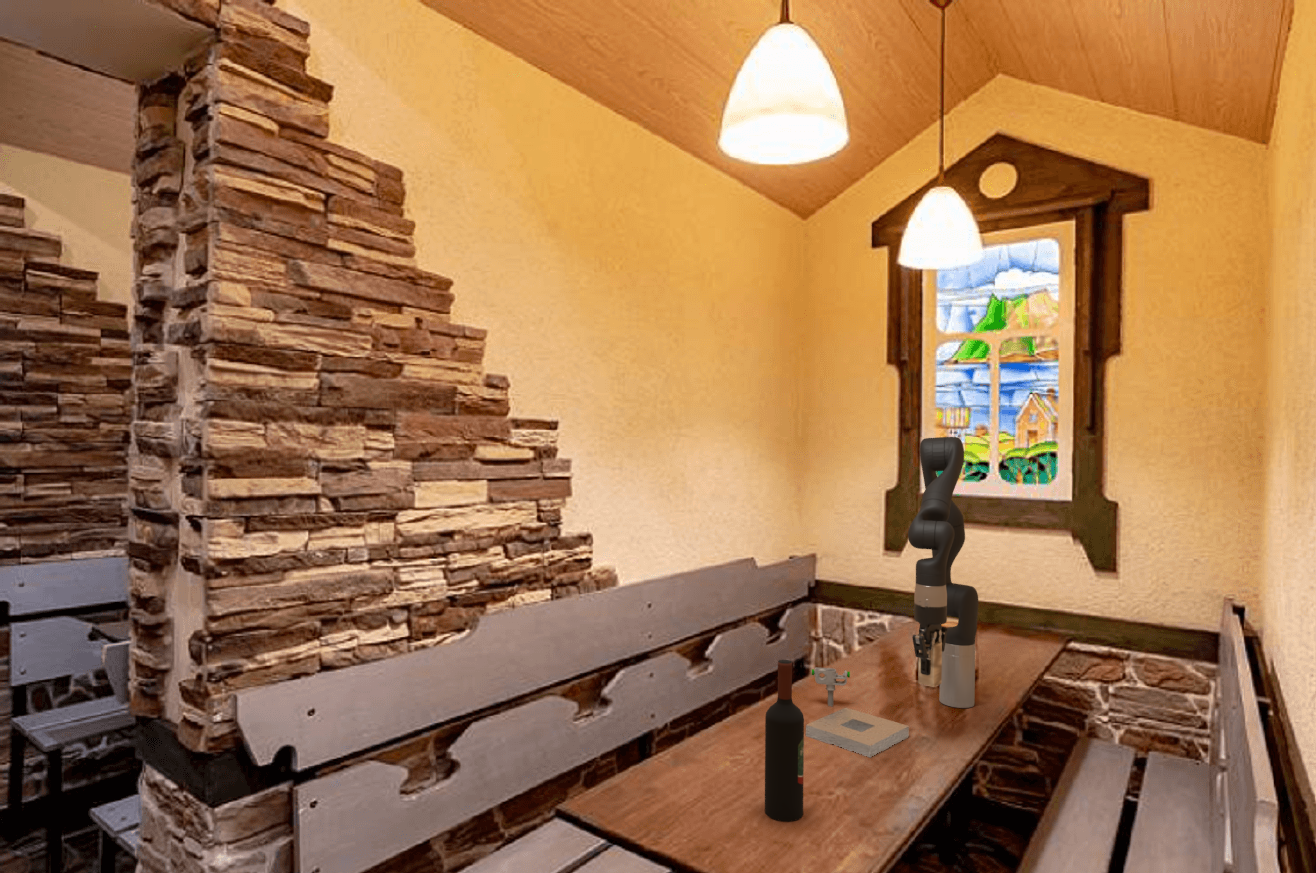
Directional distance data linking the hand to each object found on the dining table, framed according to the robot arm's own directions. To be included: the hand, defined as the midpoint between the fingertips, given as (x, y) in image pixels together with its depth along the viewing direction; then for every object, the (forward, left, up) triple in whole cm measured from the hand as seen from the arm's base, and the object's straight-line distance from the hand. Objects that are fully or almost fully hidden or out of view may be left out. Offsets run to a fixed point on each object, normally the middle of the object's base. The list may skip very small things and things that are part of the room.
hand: (929, 672), depth 193 cm
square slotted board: (+10, -14, -17) cm, 24 cm away
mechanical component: (-4, -31, -17) cm, 36 cm away
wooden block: (0, 0, -3) cm, 3 cm away
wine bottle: (+55, -3, -17) cm, 58 cm away
